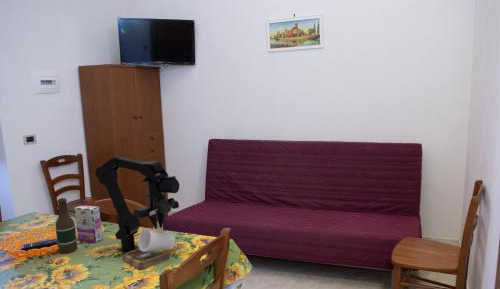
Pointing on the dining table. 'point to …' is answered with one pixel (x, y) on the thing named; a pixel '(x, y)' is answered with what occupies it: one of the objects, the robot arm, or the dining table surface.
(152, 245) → the foam cup
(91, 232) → the candy bar box
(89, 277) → the dining table surface
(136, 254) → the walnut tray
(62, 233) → the beer bottle
